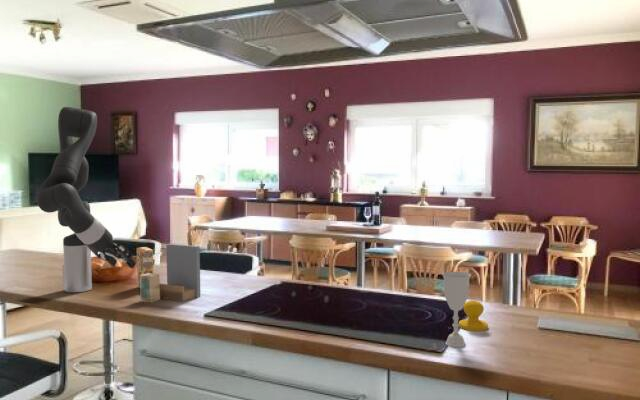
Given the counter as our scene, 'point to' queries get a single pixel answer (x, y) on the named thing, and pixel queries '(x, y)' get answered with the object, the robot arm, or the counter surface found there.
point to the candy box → (144, 262)
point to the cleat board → (182, 273)
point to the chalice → (456, 301)
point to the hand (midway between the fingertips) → (124, 265)
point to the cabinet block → (149, 287)
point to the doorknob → (473, 317)
